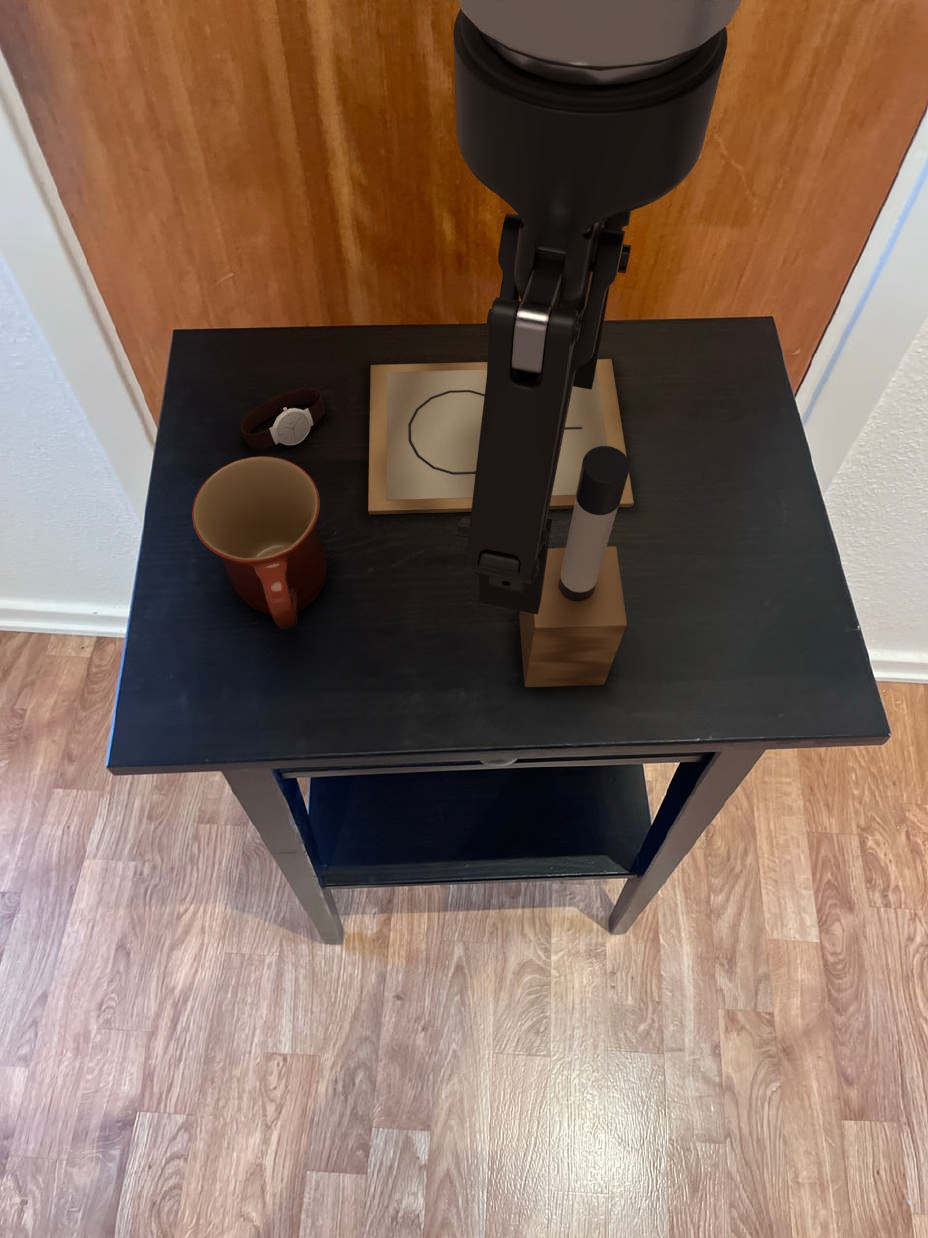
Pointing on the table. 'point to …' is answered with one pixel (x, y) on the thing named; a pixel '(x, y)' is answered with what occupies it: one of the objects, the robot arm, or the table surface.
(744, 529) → the table surface
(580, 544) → the marker
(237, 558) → the mug
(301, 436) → the watch
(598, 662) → the wooden block
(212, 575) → the table surface
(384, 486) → the sketch pad
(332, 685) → the table surface
